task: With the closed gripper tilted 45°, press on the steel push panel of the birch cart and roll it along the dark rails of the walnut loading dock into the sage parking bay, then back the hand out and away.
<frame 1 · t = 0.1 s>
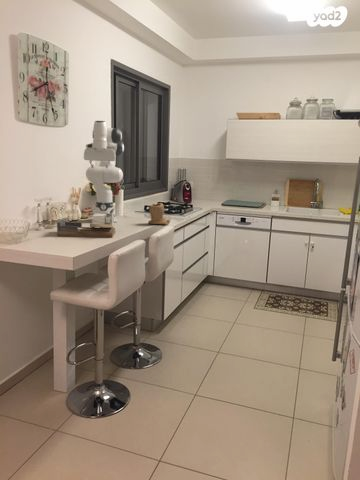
hand: (99, 167, 264), 39 cm above the countertop, tool pointing down, fingers open, 8 cm apart
loading dock: (87, 234, 248), on the countertop
food container: (104, 229, 266), on the countertop
stone cup: (158, 224, 292), on the countertop
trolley: (102, 219, 246), point 10 cm above the countertop, slide at 0.0 cm
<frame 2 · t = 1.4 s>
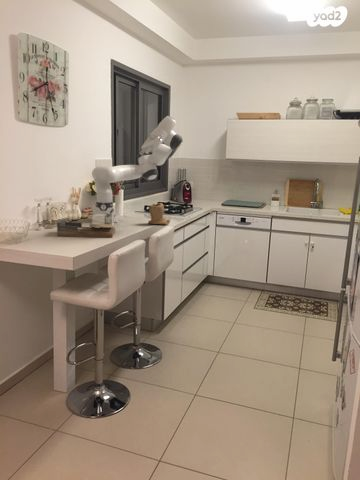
hand: (143, 153, 252), 49 cm above the countertop, tool tilted 40°, fingers open, 8 cm apart
nothing on the countertop moved.
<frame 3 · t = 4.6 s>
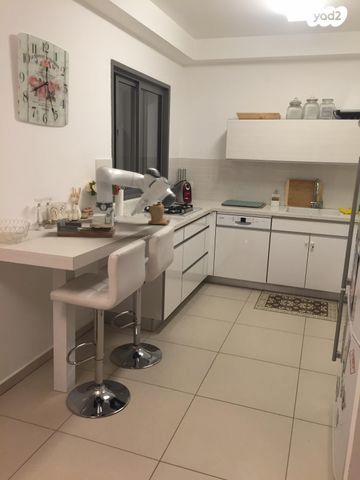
hand: (131, 215, 246), 13 cm above the countertop, tool tilted 45°, fingers closed
nothing on the countertop moved.
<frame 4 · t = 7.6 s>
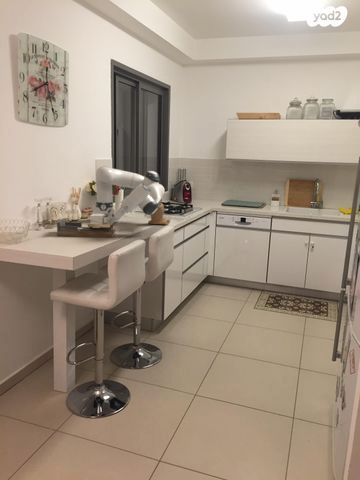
hand: (111, 221, 246), 9 cm above the countertop, tool tilted 45°, fingers closed
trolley: (99, 218, 246), point 10 cm above the countertop, slide at 1.3 cm, touching gripper
everything else where it was.
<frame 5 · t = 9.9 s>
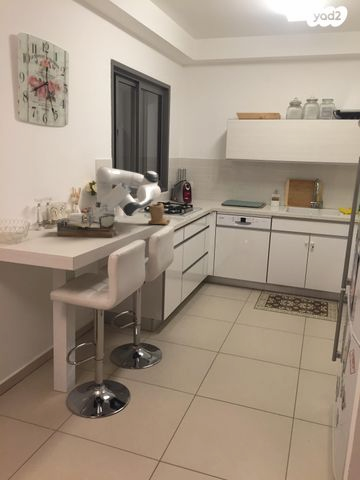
hand: (91, 220, 246), 9 cm above the countertop, tool tilted 45°, fingers closed
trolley: (79, 218, 246), point 10 cm above the countertop, slide at 13.6 cm, touching gripper
everything else where it was.
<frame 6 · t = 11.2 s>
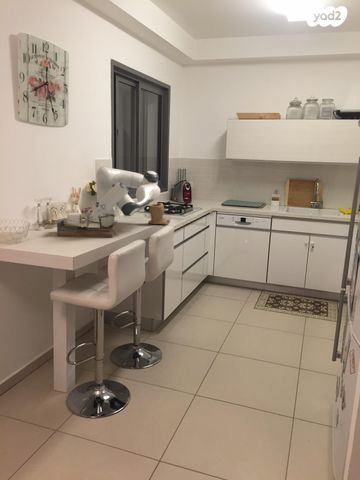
hand: (89, 219, 246), 9 cm above the countertop, tool tilted 45°, fingers closed
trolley: (77, 218, 246), point 10 cm above the countertop, slide at 14.8 cm
everything else where it was.
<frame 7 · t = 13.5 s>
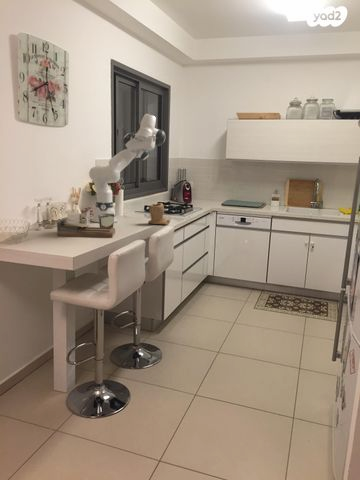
hand: (137, 157, 247), 47 cm above the countertop, tool tilted 30°, fingers closed
nothing on the countertop moved.
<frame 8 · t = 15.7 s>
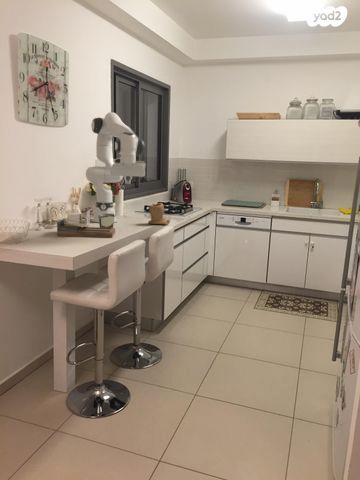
hand: (127, 183, 246), 31 cm above the countertop, tool pointing down, fingers closed
nothing on the countertop moved.
at the end: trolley slide at 14.8 cm; the gripper is holding nothing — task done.
